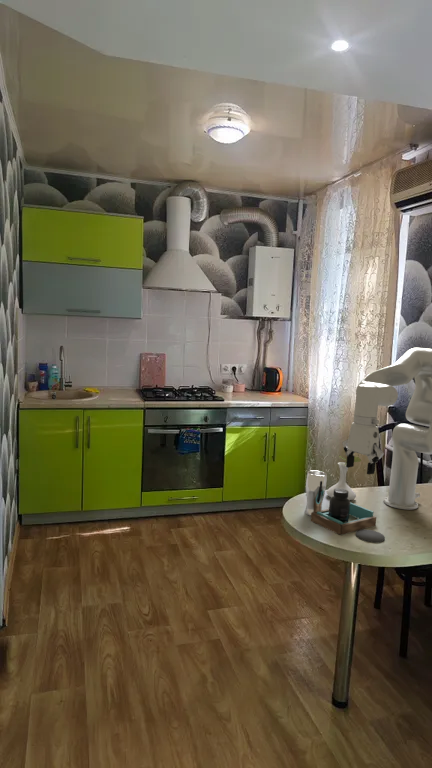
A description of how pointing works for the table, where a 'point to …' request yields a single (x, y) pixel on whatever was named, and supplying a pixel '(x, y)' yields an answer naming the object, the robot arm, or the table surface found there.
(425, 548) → the table surface
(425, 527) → the table surface
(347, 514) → the supplement bottle
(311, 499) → the beer glass
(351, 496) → the flower in vase
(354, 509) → the teal drawer
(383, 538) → the coaster
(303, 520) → the table surface
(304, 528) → the table surface
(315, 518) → the walnut cubby
